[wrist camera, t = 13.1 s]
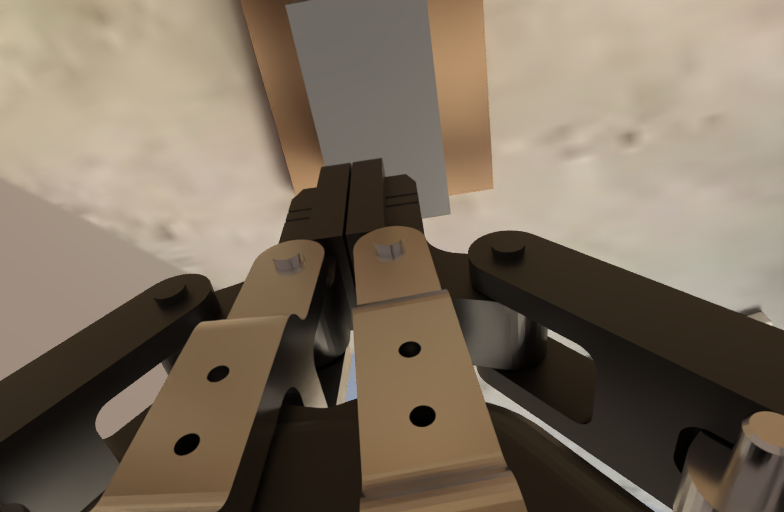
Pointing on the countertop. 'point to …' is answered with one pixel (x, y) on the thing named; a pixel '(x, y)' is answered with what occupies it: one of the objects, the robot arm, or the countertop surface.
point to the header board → (453, 82)
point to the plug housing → (374, 88)
